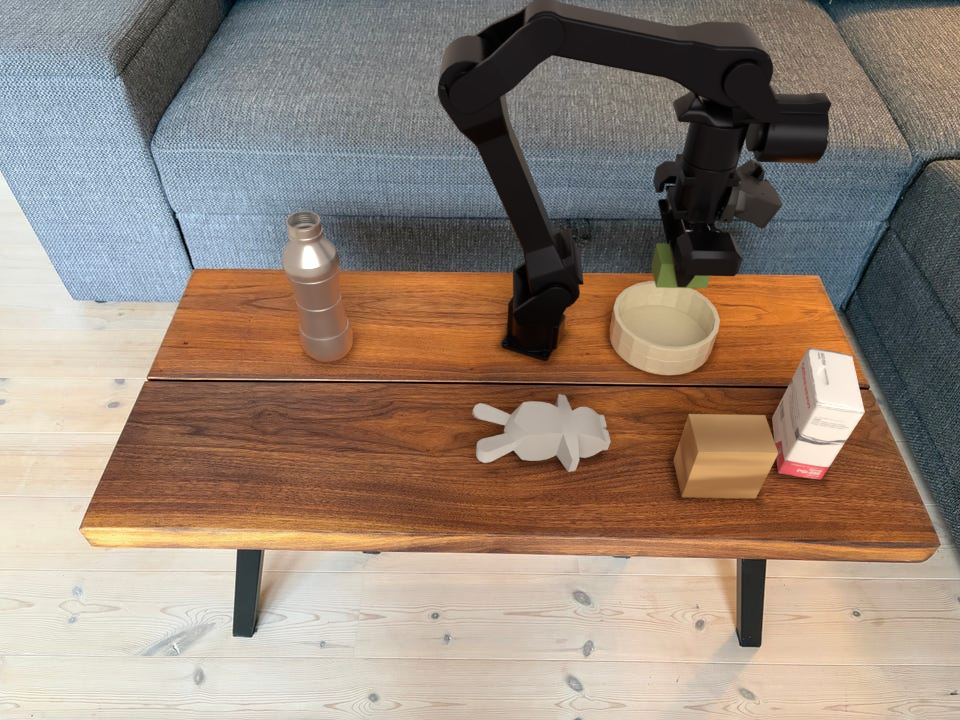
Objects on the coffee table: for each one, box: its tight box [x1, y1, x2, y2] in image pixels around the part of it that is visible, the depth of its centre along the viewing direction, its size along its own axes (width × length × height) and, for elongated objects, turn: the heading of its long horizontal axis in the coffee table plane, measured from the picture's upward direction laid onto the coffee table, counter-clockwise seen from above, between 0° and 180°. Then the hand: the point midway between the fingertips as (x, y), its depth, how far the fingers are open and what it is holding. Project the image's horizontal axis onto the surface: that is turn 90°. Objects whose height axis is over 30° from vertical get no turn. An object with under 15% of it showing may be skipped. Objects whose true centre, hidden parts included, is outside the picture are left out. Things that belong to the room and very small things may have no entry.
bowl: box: [609, 280, 721, 376], centre depth 93 cm, size 13×13×4 cm
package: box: [650, 243, 711, 289], centre depth 85 cm, size 4×6×4 cm, turn 89°
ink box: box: [771, 347, 866, 481], centre depth 78 cm, size 9×5×12 cm, turn 168°
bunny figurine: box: [471, 393, 612, 473], centre depth 80 cm, size 10×5×15 cm
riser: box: [673, 413, 778, 499], centre depth 76 cm, size 5×8×8 cm, turn 89°
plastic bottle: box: [280, 210, 354, 363], centre depth 85 cm, size 6×7×20 cm
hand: (678, 275), depth 86 cm, fingers closed on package, 4 cm apart
